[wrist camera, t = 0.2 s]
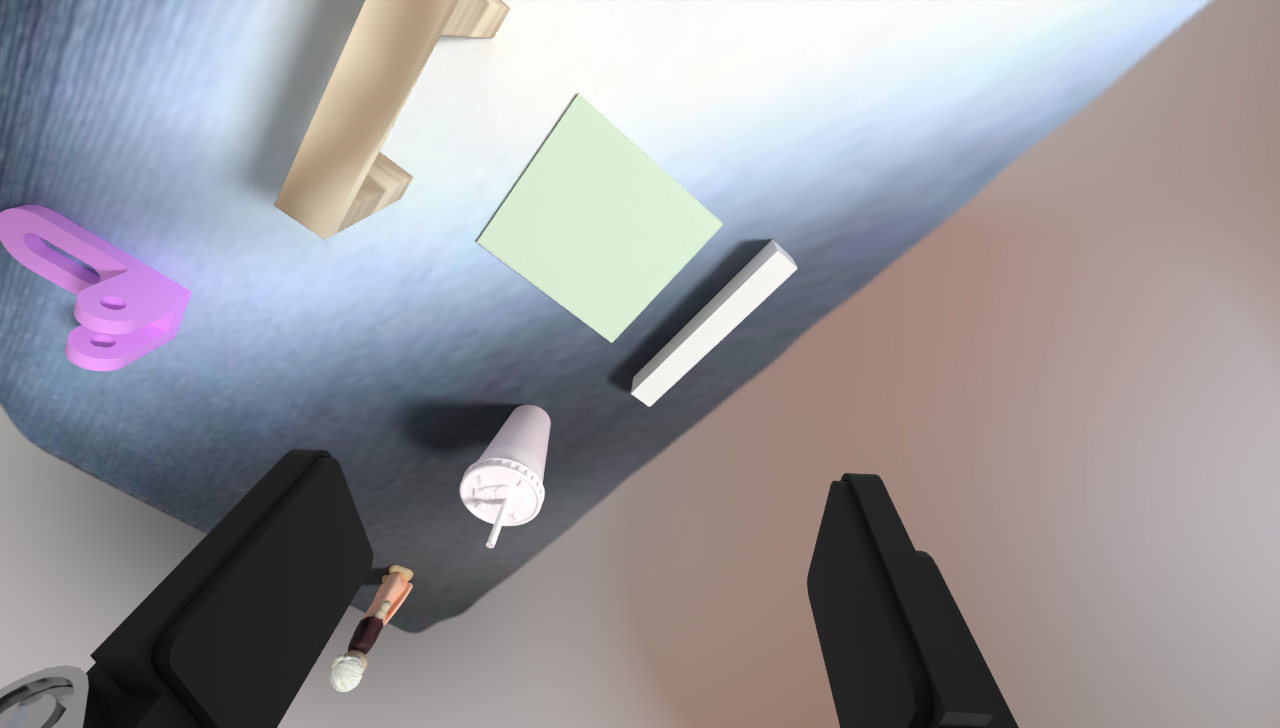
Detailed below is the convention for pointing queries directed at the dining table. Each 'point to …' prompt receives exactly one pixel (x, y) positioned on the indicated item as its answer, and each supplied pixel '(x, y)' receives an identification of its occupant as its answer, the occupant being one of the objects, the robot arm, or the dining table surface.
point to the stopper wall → (713, 322)
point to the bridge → (371, 109)
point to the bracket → (97, 288)
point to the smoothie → (510, 472)
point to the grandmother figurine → (370, 629)
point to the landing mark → (597, 223)
